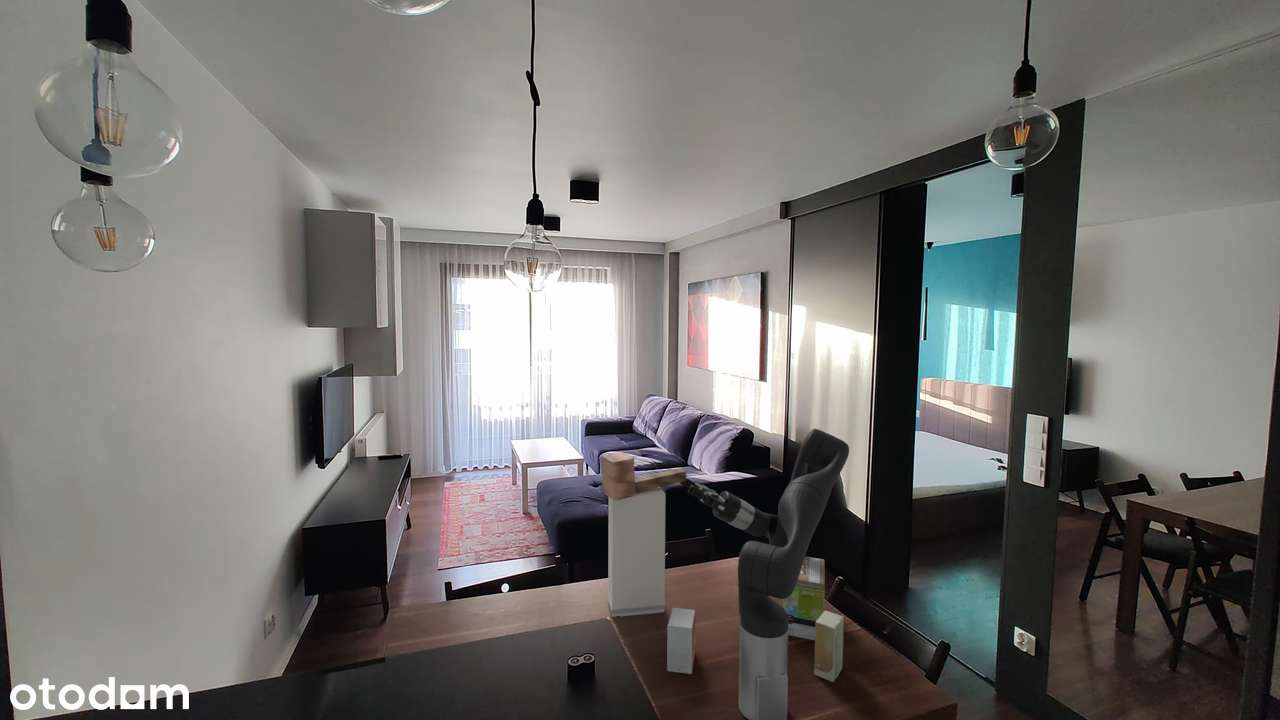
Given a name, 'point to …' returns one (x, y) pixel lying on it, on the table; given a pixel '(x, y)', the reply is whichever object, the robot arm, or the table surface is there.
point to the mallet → (632, 477)
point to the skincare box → (828, 645)
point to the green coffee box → (806, 599)
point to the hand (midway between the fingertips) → (685, 484)
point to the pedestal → (637, 554)
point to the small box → (681, 640)
